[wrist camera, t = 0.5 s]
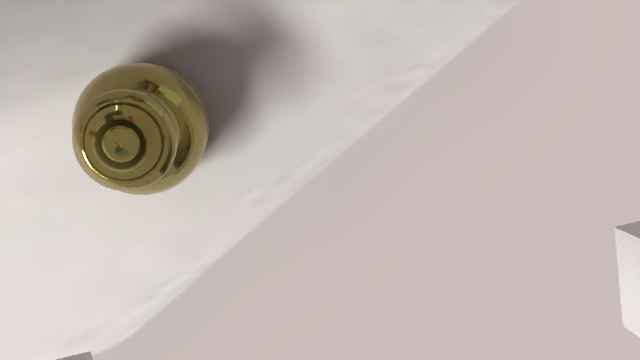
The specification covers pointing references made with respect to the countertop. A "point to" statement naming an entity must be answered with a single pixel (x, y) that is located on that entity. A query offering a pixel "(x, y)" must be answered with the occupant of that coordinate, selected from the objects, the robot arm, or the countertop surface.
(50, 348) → the countertop surface
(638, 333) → the robot arm
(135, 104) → the gold stepped round piece
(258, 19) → the countertop surface
